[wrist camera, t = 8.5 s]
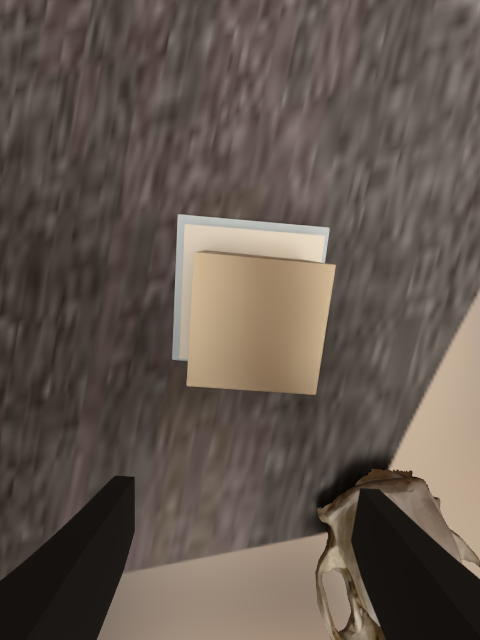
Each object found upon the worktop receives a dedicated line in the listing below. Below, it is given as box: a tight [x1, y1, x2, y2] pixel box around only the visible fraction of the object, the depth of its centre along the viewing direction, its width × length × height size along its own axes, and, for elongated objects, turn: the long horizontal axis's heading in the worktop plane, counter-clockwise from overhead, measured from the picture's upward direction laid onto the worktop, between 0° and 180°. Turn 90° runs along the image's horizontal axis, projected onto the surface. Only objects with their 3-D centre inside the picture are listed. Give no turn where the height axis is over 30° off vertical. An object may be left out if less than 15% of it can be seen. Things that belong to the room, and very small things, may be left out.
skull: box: [316, 469, 480, 640], centre depth 21 cm, size 10×16×10 cm
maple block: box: [187, 250, 336, 395], centre depth 13 cm, size 4×4×5 cm
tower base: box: [172, 214, 330, 361], centre depth 19 cm, size 8×8×2 cm
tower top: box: [179, 224, 325, 359], centre depth 17 cm, size 6×6×2 cm
